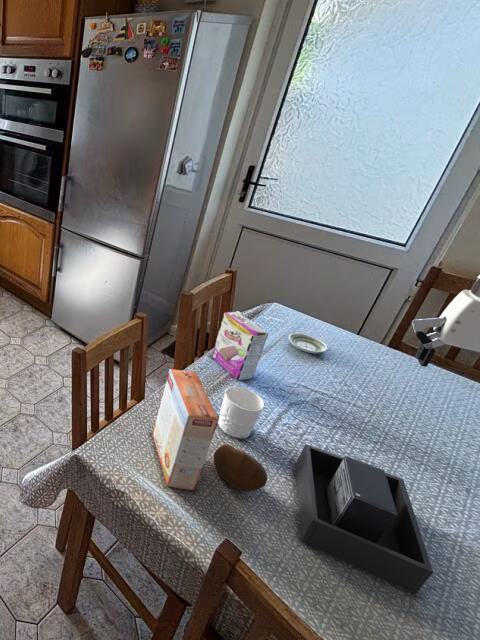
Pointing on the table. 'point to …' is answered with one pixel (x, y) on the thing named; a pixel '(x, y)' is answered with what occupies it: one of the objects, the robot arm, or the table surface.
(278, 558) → the table surface
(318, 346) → the saucer
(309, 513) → the basket
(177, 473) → the cracker box
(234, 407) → the white cup
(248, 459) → the potato
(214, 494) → the table surface
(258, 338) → the candy bar box
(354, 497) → the small box
